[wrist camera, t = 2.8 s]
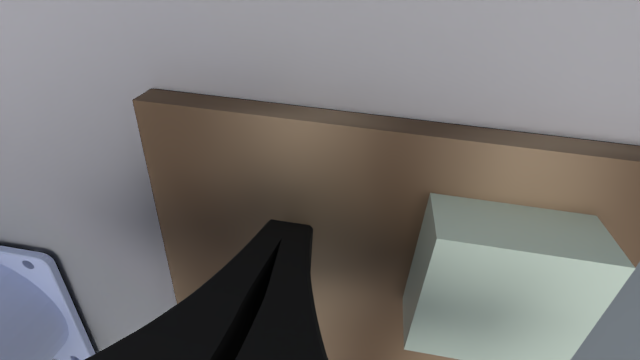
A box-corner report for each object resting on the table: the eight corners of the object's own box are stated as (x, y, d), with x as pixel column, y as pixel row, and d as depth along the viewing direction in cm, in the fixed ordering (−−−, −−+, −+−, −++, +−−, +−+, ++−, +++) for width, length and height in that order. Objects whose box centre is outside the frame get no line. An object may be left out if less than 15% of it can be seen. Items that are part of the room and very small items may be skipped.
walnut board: (209, 397, 21) (201, 416, 21) (151, 88, 12) (132, 100, 11) (483, 453, 20) (487, 476, 19) (679, 150, 10) (705, 169, 9)
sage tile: (402, 298, 13) (403, 349, 12) (430, 192, 11) (437, 238, 9) (536, 320, 13) (557, 377, 11) (596, 215, 10) (635, 268, 9)
